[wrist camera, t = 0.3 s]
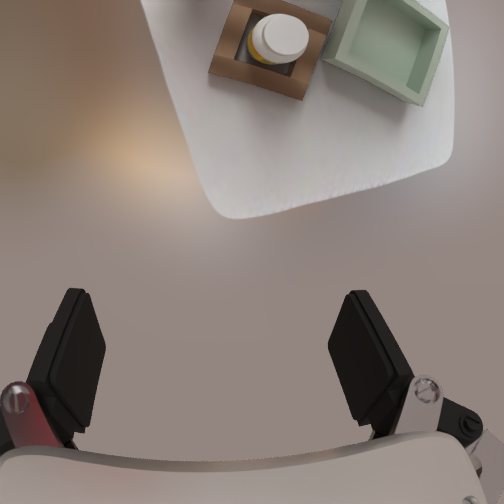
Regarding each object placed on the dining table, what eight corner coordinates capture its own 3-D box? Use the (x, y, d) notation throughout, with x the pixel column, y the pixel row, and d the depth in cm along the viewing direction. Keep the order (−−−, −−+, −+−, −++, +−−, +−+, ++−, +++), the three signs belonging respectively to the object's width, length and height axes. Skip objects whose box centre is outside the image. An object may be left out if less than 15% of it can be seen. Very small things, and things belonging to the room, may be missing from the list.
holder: (237, -8, 25) (239, -13, 23) (326, 22, 28) (332, 20, 26) (208, 72, 30) (208, 72, 29) (297, 99, 33) (301, 100, 31)
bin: (351, -21, 24) (367, -29, 20) (429, 27, 27) (449, 27, 24) (321, 59, 30) (334, 58, 27) (403, 101, 34) (422, 106, 30)
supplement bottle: (285, 20, 27) (309, 4, 19) (296, 60, 30) (323, 57, 22) (240, 28, 28) (249, 13, 20) (252, 69, 31) (265, 67, 23)
